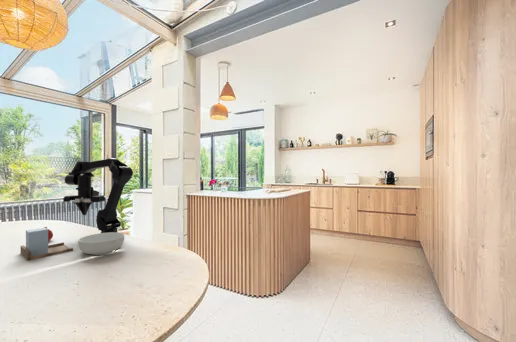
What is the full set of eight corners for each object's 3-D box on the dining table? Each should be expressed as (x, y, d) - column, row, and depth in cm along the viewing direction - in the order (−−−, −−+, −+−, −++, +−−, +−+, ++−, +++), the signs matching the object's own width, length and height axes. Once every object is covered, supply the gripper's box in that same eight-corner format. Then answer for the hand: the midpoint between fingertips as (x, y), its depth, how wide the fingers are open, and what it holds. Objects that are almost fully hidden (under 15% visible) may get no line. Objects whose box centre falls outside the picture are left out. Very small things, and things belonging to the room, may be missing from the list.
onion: (45, 245, 114) (45, 228, 114) (33, 245, 114) (33, 228, 114) (56, 241, 120) (55, 225, 120) (44, 241, 120) (44, 225, 120)
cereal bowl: (132, 247, 112) (132, 232, 112) (106, 260, 96) (106, 243, 96) (98, 246, 114) (98, 231, 114) (67, 259, 98) (67, 241, 97)
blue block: (45, 250, 104) (44, 227, 104) (48, 253, 101) (48, 229, 101) (26, 254, 99) (25, 230, 99) (28, 257, 96) (28, 232, 96)
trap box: (63, 246, 113) (63, 238, 112) (73, 252, 105) (73, 243, 105) (20, 255, 101) (20, 245, 101) (27, 263, 93) (27, 252, 93)
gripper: (111, 184, 134) (111, 212, 134) (79, 184, 135) (79, 212, 135) (97, 186, 123) (97, 216, 123) (62, 185, 124) (62, 216, 124)
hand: (84, 215), depth 127 cm, fingers closed
